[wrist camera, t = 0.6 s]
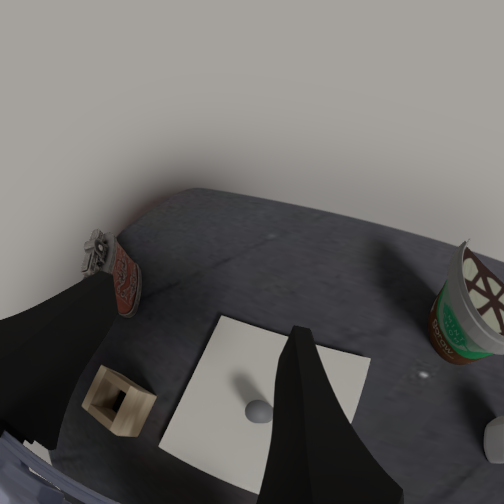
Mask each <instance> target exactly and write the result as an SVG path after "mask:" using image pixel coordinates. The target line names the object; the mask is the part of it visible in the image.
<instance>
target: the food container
mask: <svg viewBox="0 0 504 504" xmlns="http://www.w3.org/2000/svg"><path fill="white" fill-rule="evenodd" d="M469 240H470V239H469ZM469 240H468V241H467V243H466V241H464V242H463V243H462V244H461V245H460V246H459V247H458V248H457V249H456V251H455V252H454V254H453V256H452V258H451V260H450V264H449V268H448V279H447V280H446V282H445V284H444V286H443V288H442V289H441V291H440V293H439V294H438V296H437V298H436V300H435V301H434V303H433V305H432V308H431V310H430V312H429V318H428V331H429V338H430V340H431V343H432V345H433V347H434V349H435V350H436V352H437V353H438V354H439V355H440V357H442V358H443V359H444V360H446V361H447V362H449V363H452V364H456V365H464V364H468V363H471V362H474V361H476V360H479V359H481V358H484V357H486V356H489V355H491V354H502V355H503V354H504V284H503V283H502V282H501V281H500V280H499V279H498V278H497V277H496V276H495V275H494V274H493V273H492V272H491V271H490V270H489V269H488V268H486V267H485V266H484V265H483V264H482V262H481V261H480V260H479V259H478V258H477V257H476V256H475V255H474V254H473V253H472V252H471V250H470V249H468V247H467V245H468V242H469Z"/></svg>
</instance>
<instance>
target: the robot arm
mask: <svg viewBox="0 0 504 504" xmlns="http://www.w3.org/2000/svg"><path fill="white" fill-rule="evenodd" d="M117 313H118V306H117V299H116V293H115V286H114V278H113V275H112V274H109V273H107V272H104V271H99V272H97V273H95V274H93V275H91V276H90V277H88V278H86V279H84V280H82V281H81V282H79V283H77V284H75V285H74V286H72V287H70V288H68V289H66V290H65V291H63V292H61V293H59V294H58V295H56V296H54V297H52V298H50V299H48V300H46V301H44V302H42V303H40V304H38V305H36V306H34V307H32V308H30V309H28V310H26V311H23V312H21V313H19V314H16V315H14V316H11V317H8V318H5V319H2V320H0V504H72V503H70V502H68V501H66V500H65V499H64V496H65V495H64V493H63V492H62V491H60V490H59V489H58V488H60V489H61V490H63V491H64V492H66V493H68V494H69V495H71V496H73V497H74V498H76V499H78V500H80V501H81V502H83V503H85V504H120V503H118V502H116V501H114V500H112V499H109V498H107V497H105V496H103V495H101V494H99V493H97V492H95V491H93V490H91V489H89V488H88V487H86V486H84V485H82V484H80V483H79V482H77V481H75V480H73V479H72V478H70V477H68V476H67V475H65V474H64V473H62V472H60V471H59V470H57V469H56V468H54V467H53V466H51V465H50V464H48V463H47V462H45V461H44V460H43V459H41V458H40V457H38V456H37V455H35V454H34V453H33V452H32V451H30V450H29V449H28V448H27V447H25V446H24V445H23V442H24V440H26V441H28V442H29V443H30V444H33V442H34V440H35V441H37V442H38V443H39V444H41V445H42V446H44V447H45V448H46V449H48V450H54V449H56V446H57V441H58V436H59V432H60V428H61V424H62V421H63V417H64V414H65V411H66V408H67V405H68V403H69V400H70V398H71V395H72V393H73V390H74V388H75V386H76V384H77V381H78V379H79V377H80V375H81V373H82V372H83V370H84V368H85V367H86V365H87V363H88V362H89V360H90V359H91V357H92V356H93V354H94V353H95V351H96V350H97V348H98V347H99V345H100V343H101V342H102V340H103V339H104V337H105V336H106V334H107V333H108V331H109V329H110V327H111V325H112V323H113V321H114V319H115V317H116V315H117ZM28 466H29V467H30V468H31V469H32V470H34V471H35V472H36V473H38V474H39V475H41V476H42V477H43V478H45V479H46V480H45V479H43V478H41V477H40V476H38V475H36V474H34V473H32V472H31V471H30V470H29V467H28ZM47 480H48V481H49V482H48V481H47ZM50 482H51V483H52V484H51V483H50ZM53 484H54V485H55V486H57V487H58V488H57V487H55V486H54V485H53ZM256 504H404V495H403V489H402V488H401V487H400V486H399V485H398V484H397V483H396V482H395V481H394V480H393V479H392V478H391V477H390V476H389V475H388V474H387V473H386V472H385V471H384V470H383V468H382V467H381V466H380V465H379V464H378V462H377V461H376V460H375V459H374V458H373V456H372V455H371V453H370V452H369V451H368V449H367V448H366V447H365V445H364V444H363V442H362V441H361V440H360V438H359V437H358V435H357V433H356V432H355V430H354V429H353V427H352V425H351V424H350V422H349V420H348V418H347V417H346V415H345V413H344V411H343V409H342V407H341V405H340V403H339V401H338V399H337V397H336V395H335V393H334V391H333V388H332V386H331V384H330V382H329V379H328V377H327V374H326V372H325V369H324V367H323V364H322V361H321V359H320V356H319V353H318V350H317V347H316V344H315V341H314V338H313V335H312V332H311V330H310V329H309V328H304V327H299V326H295V325H294V326H293V328H292V331H291V333H290V335H289V337H288V339H287V341H286V344H285V346H284V348H283V350H282V352H281V354H280V356H279V360H278V365H277V371H276V377H275V386H274V404H273V421H272V434H271V442H270V447H269V453H268V458H267V463H266V467H265V472H264V476H263V480H262V484H261V488H260V492H259V496H258V500H257V503H256Z"/></svg>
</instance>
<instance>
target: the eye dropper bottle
mask: <svg viewBox="0 0 504 504" xmlns="http://www.w3.org/2000/svg"><path fill="white" fill-rule="evenodd" d="M484 451H485V455H486V457H487V459H488V461H489V462H491V463H504V416H500V417H497V418H495V419H494V420H492V421H491V422H490V423H488V424H487V426H486V428H485V432H484Z"/></svg>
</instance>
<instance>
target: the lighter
mask: <svg viewBox="0 0 504 504" xmlns="http://www.w3.org/2000/svg"><path fill="white" fill-rule="evenodd" d="M84 249H85V253H86V254H85V256H84V260H83V264H82V268H81V272H82V273H83V274H84V275H85V276H86V277H87V278H88V277H90V276H91V275H93V274H95V273H97V272H99V271H104V272H107V273H109V274H112V275H113V278H114V286H115V293H116V299H117V306H118V313H119V314H120V315H122V316H123V317H125V318H130V317H132V316H134V315H135V313H136V312H137V309H138V305H139V301H140V295H141V287H142V276H141V269H140V267H139V266H138V265H137V264H136V263H134V262H133V261H132V260H131V258H130V257H129V256H128V255H127V253H126V252H125V251H124V250H123V248H122V247H121V246H120V245H119V243H118V242H117V239H116V237H115V236H114V235H113V233H110V232H109V233H106V234H104V235H103V233H102V232H101V231H100V230H99V229H95V230H93V231H92V233H91V236H90V240H89V241H87V242H85V245H84Z"/></svg>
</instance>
